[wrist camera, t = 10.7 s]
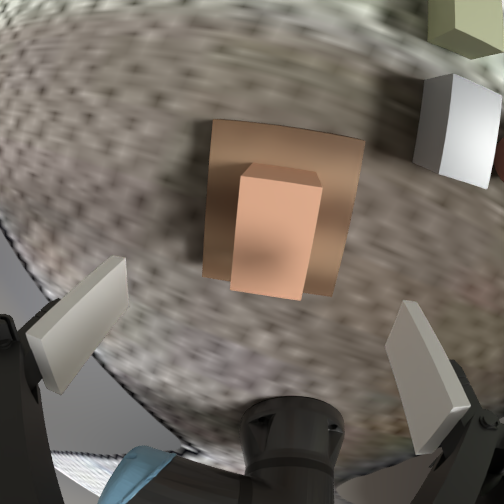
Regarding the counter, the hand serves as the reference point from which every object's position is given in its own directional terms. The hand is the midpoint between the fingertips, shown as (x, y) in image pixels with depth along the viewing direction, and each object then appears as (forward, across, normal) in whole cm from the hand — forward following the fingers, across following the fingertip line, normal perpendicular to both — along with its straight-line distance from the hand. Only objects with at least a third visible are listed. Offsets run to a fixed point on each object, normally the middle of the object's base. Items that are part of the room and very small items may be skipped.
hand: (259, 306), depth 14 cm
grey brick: (+16, -14, -11) cm, 24 cm away
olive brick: (+16, -14, -23) cm, 31 cm away
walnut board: (+16, 0, -1) cm, 16 cm away
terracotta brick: (+13, 0, 0) cm, 13 cm away
